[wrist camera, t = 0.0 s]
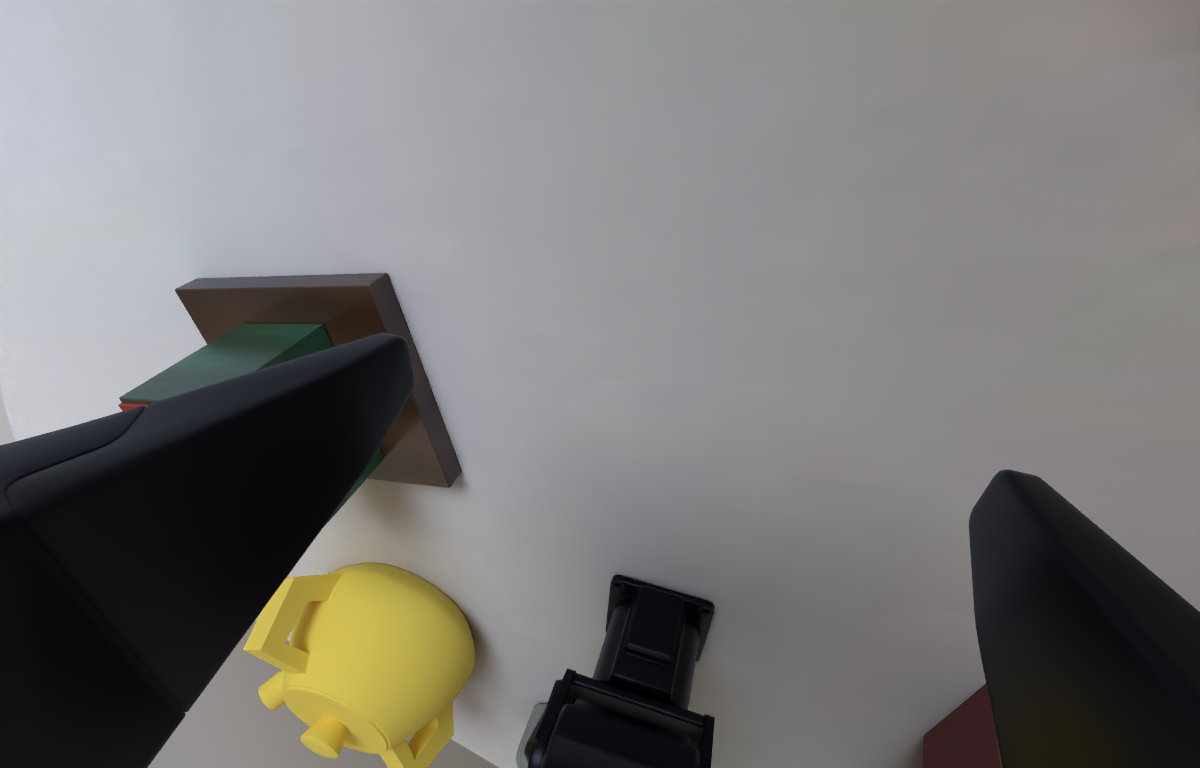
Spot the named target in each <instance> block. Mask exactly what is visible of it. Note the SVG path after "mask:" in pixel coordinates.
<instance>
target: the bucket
mask: <svg viewBox="0 0 1200 768" xmlns="http://www.w3.org/2000/svg"><path fill="white" fill-rule="evenodd" d="M922 768H1003V767H1002V762H1001V756H1000V751H999V746H998V741H997V736H996V731H995V725H994V720H993V715H992V710H991V705H990V699H989V694H988V689H987V684H986V685H985V686H984V687H983V688H982V689H980V690H979V691H978V692H977V693H975V694H974V695H973V696H972V697H971V698H969V699H968V700H967V701H966V702H965V703H963V704H962V705H961V706H960V707H958V708H957V709H956V710H955V711H954V712H952V713H951V714H950V715H949V716H948V717H946V718H945V719H944V720H943V721H941V722H940V723H939V724H938V725H937V726H935V727H934V728H933V729H932V730H931V731H929V732H928V733H927V734H926V735H924V745H923V762H922Z"/></svg>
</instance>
